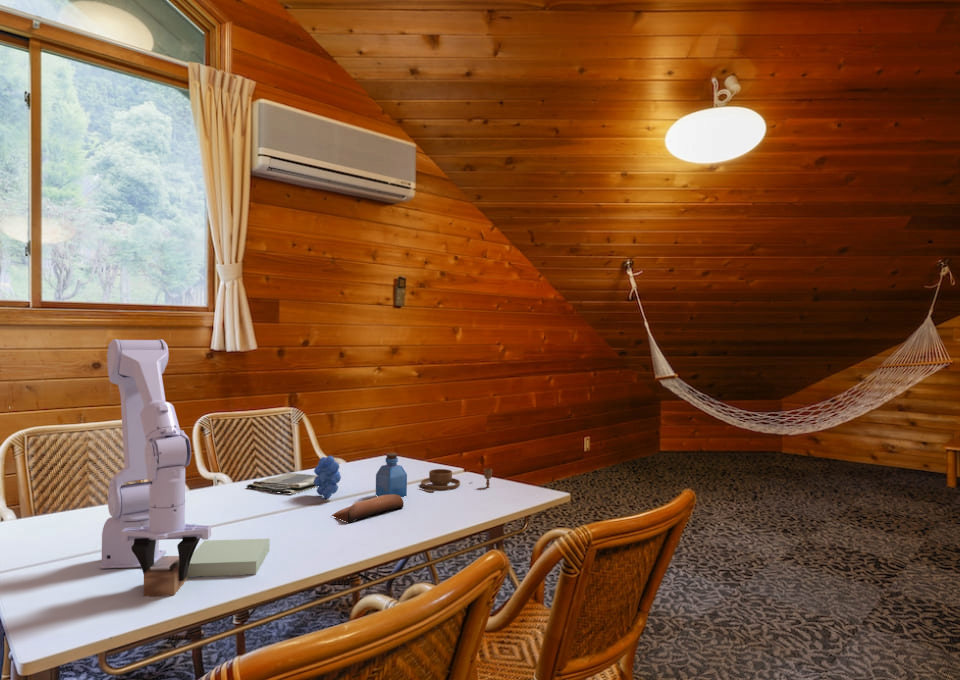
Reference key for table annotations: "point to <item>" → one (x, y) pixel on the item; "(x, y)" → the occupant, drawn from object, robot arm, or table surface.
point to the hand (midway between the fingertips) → (166, 579)
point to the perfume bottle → (391, 478)
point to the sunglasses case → (369, 507)
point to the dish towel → (286, 483)
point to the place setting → (446, 480)
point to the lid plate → (165, 564)
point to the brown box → (162, 582)
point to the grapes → (327, 476)
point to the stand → (228, 557)
